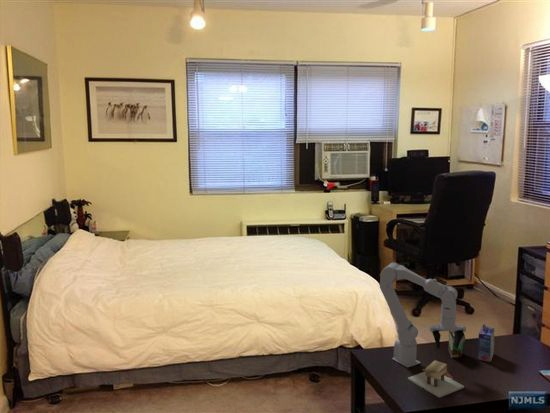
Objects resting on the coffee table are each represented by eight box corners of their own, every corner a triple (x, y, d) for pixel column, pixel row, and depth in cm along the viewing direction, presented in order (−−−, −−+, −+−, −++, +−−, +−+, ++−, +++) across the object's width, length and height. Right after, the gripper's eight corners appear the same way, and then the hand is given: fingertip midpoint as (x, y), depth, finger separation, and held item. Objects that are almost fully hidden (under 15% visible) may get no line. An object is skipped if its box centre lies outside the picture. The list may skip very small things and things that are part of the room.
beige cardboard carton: (424, 383, 186) (425, 368, 185) (434, 375, 193) (434, 360, 192) (437, 387, 183) (437, 372, 182) (446, 379, 190) (446, 364, 189)
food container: (467, 361, 207) (468, 339, 205) (452, 359, 208) (453, 338, 207) (461, 349, 219) (462, 328, 217) (447, 347, 220) (448, 327, 219)
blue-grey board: (407, 379, 191) (407, 377, 191) (431, 370, 198) (432, 369, 198) (439, 397, 178) (439, 395, 177) (464, 387, 185) (464, 385, 184)
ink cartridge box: (480, 350, 217) (482, 320, 215) (493, 353, 214) (495, 323, 212) (477, 359, 208) (478, 328, 206) (490, 362, 205) (492, 330, 203)
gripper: (462, 312, 199) (460, 343, 201) (427, 313, 199) (426, 343, 201) (468, 319, 192) (467, 350, 194) (433, 319, 192) (431, 350, 194)
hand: (446, 347), depth 197 cm, fingers open, 7 cm apart
